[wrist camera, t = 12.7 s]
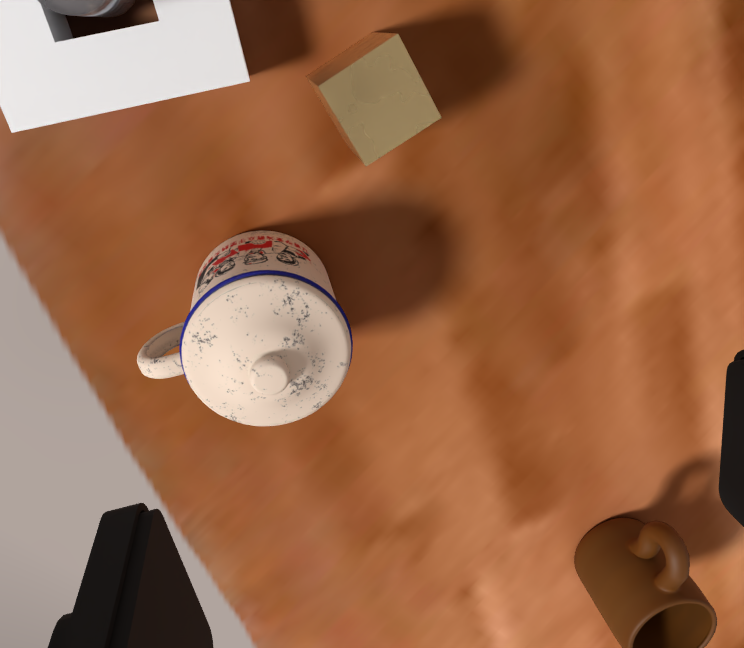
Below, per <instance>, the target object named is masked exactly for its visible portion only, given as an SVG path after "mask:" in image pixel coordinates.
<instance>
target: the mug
mask: <svg viewBox="0 0 744 648" xmlns="http://www.w3.org/2000/svg"><path fill="white" fill-rule="evenodd" d="M574 564H575V568H576V571H577V574H578V576H579V578H580V579H581V581H582V583H583V585H584V586H585V588H586V590H587V591H588V593H589V594H590V596H591V598H592V600H593V601H594V603H595V605H596V607H597V608H598V610H599V612H600V613H601V615H602V616H603V618H604V620H605V621H606V623H607V625H608V626H609V628H610V630H611V631H612V633H613V635H614V636H615V638H616V639H617V641H618V642H619V644H620V645H621V646H622V648H704V647H705V646H706V645H707V644H708V643H709V641H710V640H711V638H712V637H713V635H714V633H715V630H716V626H717V617H716V613H715V611H714V609H713V607H712V606H711V605H710V603H709V602H708V600H707V599H706V597H705V596H704V594H703V593H702V591H701V590H700V589H699V587H698V586H697V585H696V583H695V582H694V581H693V580H692V578H691V577H690V576H689V567H690V562H689V554H688V551H687V548H686V546H685V544H684V542H683V540H682V538H681V537H680V536H679V534H678V533H677V532H676V531H675V530H674V529H673V528H672V527H671V526H669V525H667V524H666V523H664V522H660V521H652V522H649V523H647V524H646V525H645V524H644V523H642V522H641V521H638V520H635V519H631V518H616V519H612V520H609V521H606V522H604V523H601V524H599V525H598V526H596V527H595V528H593V529H592V530H591V531H589V532H588V533H587V534H586V535H585V536H584V537H583V539H582V540H581V541H580V543H579V545H578V547H577V549H576V552H575V558H574Z"/></svg>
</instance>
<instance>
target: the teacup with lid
mask: <svg viewBox="0 0 744 648" xmlns="http://www.w3.org/2000/svg"><path fill="white" fill-rule="evenodd" d="M352 344H353V342H352V334H351V329H350V325H349V322H348V320H347V317H346V315H345V313H344V311H343V310H342V308H341V306H340V305H339V304H338V302H337V301H336V298H335V295H334V292H333V289H332V286H331V283H330V280H329V277H328V274H327V272H326V269H325V267H324V265H323V264H322V262H321V260H320V259H319V258H318V256H317V255H316V254H315V253H314V252H313V251H312V250H311V249H310V248H309V247H308V246H307V245H305V244H304V243H303V242H301V241H299V240H298V239H296V238H294V237H292V236H289V235H286V234H283V233H279V232H274V231H251V232H246V233H242V234H239V235H236V236H234V237H232V238H230V239H228V240H226V241H224V242H223V243H221V244H220V245H219V246H218V247H216V248H215V249H214V250H213V251H212V252H211V253H210V254H209V256H208V257H207V258H206V259H205V261H204V263H203V264H202V266H201V268H200V270H199V273H198V276H197V279H196V283H195V289H194V294H193V299H192V305H191V310H190V313H189V314H188V316H187V319H186V321H185V322H183V323H180V324H177V325H174V326H172V327H169V328H167V329H165V330H163V331H161V332H160V333H158V334H157V335H155V336H154V337H152V338H151V339H150V340H149V341H148V342H147V343H146V344H145V345H144V346H143V347H142V348H141V350H140V351H139V353H138V356H137V363H138V366H139V368H140V370H141V372H142V373H143V374H144V375H145V376H147V377H150V378H156V379H161V378H169V377H174V376H178V375H181V374H184V375H185V377H186V379H187V381H188V383H189V385H190V386H191V388H192V389H193V391H194V392H195V393H196V395H197V396H198V397H199V398H200V399H201V400H202V402H203V403H205V404H206V405H207V406H208V407H209V408H211V409H212V410H213V411H215V412H216V413H218V414H220V415H222V416H223V417H226V418H228V419H230V420H233V421H236V422H239V423H243V424H247V425H253V426H276V425H282V424H287V423H291V422H294V421H297V420H299V419H302V418H304V417H306V416H308V415H310V414H312V413H313V412H315V411H316V410H318V409H319V408H320V407H322V406H323V405H324V404H325V403H327V402H328V401H329V400H330V399H331V398H332V396H333V395H334V394H335V393H336V392H337V390H338V389H339V387H340V386H341V384H342V382H343V381H344V378H345V376H346V374H347V372H348V369H349V366H350V362H351V358H352ZM178 345H180V352H179V353H175V354H172V355H168V356H163V355H164V354H165V353H166V352H168V351H169V350H171V349H173V348H174V347H176V346H178ZM162 356H163V357H162Z"/></svg>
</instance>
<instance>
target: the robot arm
mask: <svg viewBox="0 0 744 648" xmlns="http://www.w3.org/2000/svg"><path fill="white" fill-rule="evenodd" d="M719 494H720V498H721V500H722V502H723V504H724V506H725V508H726V509H727V510H728V511H729V512H730V514H731V515H732V516H733V517H734V518H735V519H736V520H737V521H738V522H739V523H740V524H741V525H742V526H743V527H744V350H741V351H740V352H738V353H737V354H736V356H735V358H734V362H732V363H730V364H729V365H728V368H727V374H726V389H725V404H724V418H723V433H722V447H721V462H720V477H719ZM48 648H213V640H212V634H211V630H210V627H209V624H208V622H207V619H206V617H205V615H204V612H203V610H202V607H201V605H200V603H199V601H198V598H197V596H196V593H195V591H194V588H193V586H192V584H191V581H190V579H189V577H188V574H187V572H186V569H185V567H184V565H183V562H182V560H181V558H180V555H179V553H178V550H177V548H176V546H175V543H174V541H173V539H172V536H171V534H170V532H169V529H168V527H167V524H166V522H165V520H164V517H163V515H162V513H161V511H160V510H158V509H154V510H150V511H149V510H148V508H147V506H146V505H145V504H144V503H139V504H135V505H131V506H127V507H123V508H119V509H115V510H111V511H107V512H105V513H104V514H103V515H102V517H101V520H100V523H99V527H98V530H97V533H96V536H95V540H94V543H93V546H92V550H91V553H90V556H89V560H88V563H87V566H86V570H85V573H84V576H83V579H82V583H81V586H80V589H79V592H78V596H77V599H76V603H75V606H74V609H73V612H72V613H70V614H66V615H63V616H62V617H61V618H60V619H59V620H58V622H57V624H56V626H55V628H54V631H53V633H52V636H51V639H50V643H49V646H48Z"/></svg>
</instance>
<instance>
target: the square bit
mask: <svg viewBox="0 0 744 648" xmlns="http://www.w3.org/2000/svg"><path fill="white" fill-rule="evenodd" d="M306 78H307V80H308V81H309V83H310V85H311V86H312V88H313V89H314V91H315V93H316V94H317V96H318V98H319V99H320V101H321V103H322V104H323V106H324V108H325V109H326V111H327V113H328V114H329V116H330V118H331V119H332V121H333V123H334V124H335V126H336V128H337V129H338V131H339V133H340V134H341V136H342V138H343V139H344V141H345V143H346V144H347V145H348V147H349V148H350V149H351V150H352V151H353V152H354V153H355V155H356V156H357V157H358V158H359V159H360V160H361V161H362V163H363V164H364V165H365V166H368V165H369V164H371V163H372V162H374V161H375V160H377V159H378V158H380V157H381V156H383V155H385V154H386V153H388V152H389V151H391V150H392V149H394V148H395V147H397V146H398V145H400V144H402V143H403V142H405V141H406V140H408V139H409V138H411V137H412V136H414V135H415V134H417V133H419V132H420V131H422V130H423V129H425V128H426V127H428V126H429V125H431V124H432V123H434V122H436V121H437V120H439V119H440V118H442V117H441V115H440V114H439V112H438V110H437V108H436V106H435V104H434V102H433V100H432V98H431V96H430V94H429V92H428V90H427V88H426V87H425V85H424V83H423V81H422V79H421V77H420V75H419V73H418V71H417V69H416V67H415V65H414V63H413V61H412V60H411V58H410V56H409V54H408V52H407V50H406V48H405V46H404V44H403V42H402V40H401V38H400V36H399V34H398V33H376V32H372V33H370V34H369V35H367V36H366V37H364V38H363V39H361V40H360V41H358V42H357V43H355V44H354V45H352V46H351V47H349V48H348V49H346V50H345V51H343V52H342V53H340V54H339V55H337V56H336V57H334V58H333V59H331V60H330V61H328V62H327V63H325V64H324V65H322V66H320V67H319V68H317V69H316V70H314V71H313V72H311V73H310V74H308V75H307V76H306Z"/></svg>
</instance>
